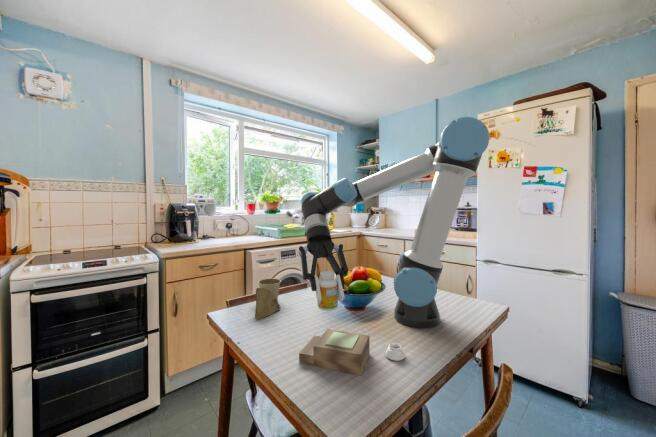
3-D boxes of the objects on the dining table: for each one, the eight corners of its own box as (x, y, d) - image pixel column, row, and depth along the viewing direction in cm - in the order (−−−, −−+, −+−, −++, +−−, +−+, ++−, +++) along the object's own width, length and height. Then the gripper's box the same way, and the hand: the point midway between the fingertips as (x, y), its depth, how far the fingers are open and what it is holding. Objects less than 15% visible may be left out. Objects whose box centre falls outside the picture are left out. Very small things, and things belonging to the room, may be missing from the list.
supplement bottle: (315, 305, 77) (315, 271, 77) (333, 302, 79) (333, 269, 78) (321, 312, 72) (320, 276, 71) (340, 309, 74) (339, 273, 73)
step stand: (369, 353, 73) (369, 334, 73) (360, 375, 64) (360, 353, 64) (314, 343, 79) (314, 325, 79) (299, 362, 70) (298, 342, 69)
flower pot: (286, 300, 115) (285, 280, 115) (270, 307, 107) (269, 285, 107) (269, 296, 120) (269, 277, 120) (253, 303, 112) (253, 282, 112)
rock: (278, 299, 109) (253, 299, 106) (283, 286, 105) (256, 285, 101) (280, 324, 101) (253, 325, 98) (285, 311, 97) (256, 311, 93)
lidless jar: (383, 359, 71) (402, 364, 69) (383, 348, 71) (402, 352, 69) (387, 350, 76) (406, 354, 73) (387, 339, 76) (406, 343, 73)
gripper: (343, 237, 91) (360, 303, 76) (287, 240, 87) (294, 310, 72) (347, 222, 86) (367, 290, 71) (288, 225, 82) (296, 296, 67)
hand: (331, 300), depth 72 cm, fingers closed on supplement bottle, 5 cm apart
